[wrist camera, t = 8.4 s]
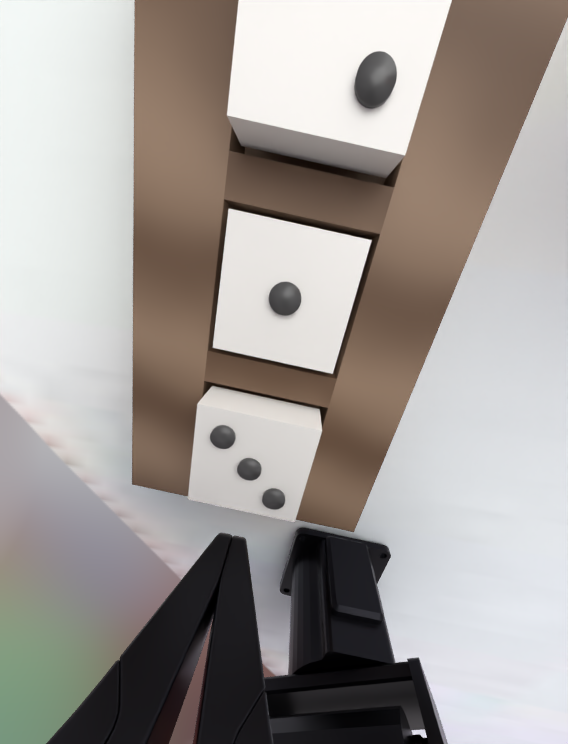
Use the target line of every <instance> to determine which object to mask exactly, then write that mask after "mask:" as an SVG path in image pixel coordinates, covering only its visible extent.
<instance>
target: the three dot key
mask: <svg viewBox="0 0 568 744" xmlns="http://www.w3.org/2000/svg"><path fill="white" fill-rule="evenodd" d="M321 433H322V424H321V416H320V409H317V408H312V407H307V406H303V405H298V404H294V403H289V402H285V401H280V400H275V399H271V398H266V397H262V396H257V395H252V394H248V393H243V392H239V391H234V390H229V389H225V388H220V387H216V386H212V387H211V388H210V389H209V390H208V392H207V393H206V394H205V395H204V396H203V398H202V399H201V400H200V401H199V402H198V404H197V413H196V423H195V432H194V442H193V452H192V462H191V472H190V481H189V491H188V500H192V501H197V502H202V503H206V504H211V505H216V506H220V507H225V508H230V509H234V510H239V511H244V512H248V513H253V514H258V515H262V516H267V517H271V518H276V519H281V520H285V521H290V522H295V520H296V516H297V513H298V510H299V506H300V503H301V500H302V496H303V493H304V490H305V487H306V483H307V480H308V477H309V473H310V470H311V467H312V463H313V460H314V457H315V453H316V450H317V447H318V443H319V440H320V437H321Z"/></svg>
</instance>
